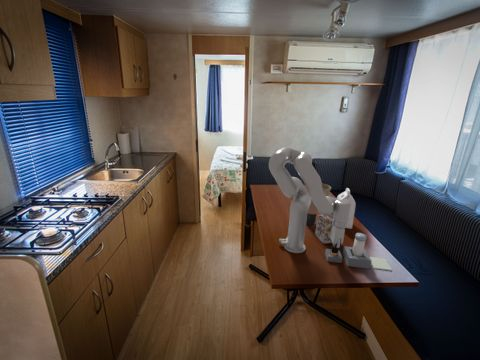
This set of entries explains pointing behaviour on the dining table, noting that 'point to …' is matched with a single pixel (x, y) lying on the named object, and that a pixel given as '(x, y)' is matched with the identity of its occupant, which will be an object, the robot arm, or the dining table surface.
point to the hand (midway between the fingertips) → (334, 252)
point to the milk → (349, 198)
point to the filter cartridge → (359, 244)
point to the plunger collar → (333, 256)
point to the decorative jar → (324, 228)
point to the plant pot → (326, 189)
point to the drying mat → (380, 263)
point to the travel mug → (311, 214)
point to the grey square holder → (356, 258)
